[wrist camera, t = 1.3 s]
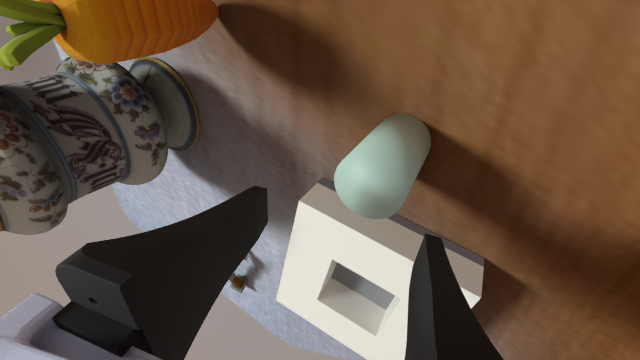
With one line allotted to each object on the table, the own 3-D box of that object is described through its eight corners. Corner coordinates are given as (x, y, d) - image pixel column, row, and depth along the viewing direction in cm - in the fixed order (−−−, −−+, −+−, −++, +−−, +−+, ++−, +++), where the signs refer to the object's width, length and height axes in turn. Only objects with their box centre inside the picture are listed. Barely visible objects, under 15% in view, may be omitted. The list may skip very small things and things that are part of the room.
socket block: (484, 258, 23) (481, 298, 20) (412, 344, 31) (401, 382, 28) (322, 177, 27) (298, 200, 24) (296, 273, 35) (276, 300, 32)
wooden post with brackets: (238, 238, 36) (214, 273, 33) (259, 263, 42) (240, 294, 40) (226, 233, 36) (202, 267, 34) (248, 258, 43) (229, 288, 41)
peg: (441, 127, 20) (417, 174, 15) (417, 175, 22) (389, 230, 17) (385, 104, 21) (344, 141, 16) (367, 153, 23) (327, 198, 18)
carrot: (252, 32, 23) (8, 65, 12) (211, 53, 26) (-19, 96, 15) (224, -41, 22) (-89, -84, 10) (183, -11, 24) (-99, -18, 13)
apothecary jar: (110, 80, 35) (-150, 134, 21) (154, 18, 27) (-201, 38, 14) (172, 172, 37) (-23, 273, 24) (228, 137, 30) (-8, 256, 16)
